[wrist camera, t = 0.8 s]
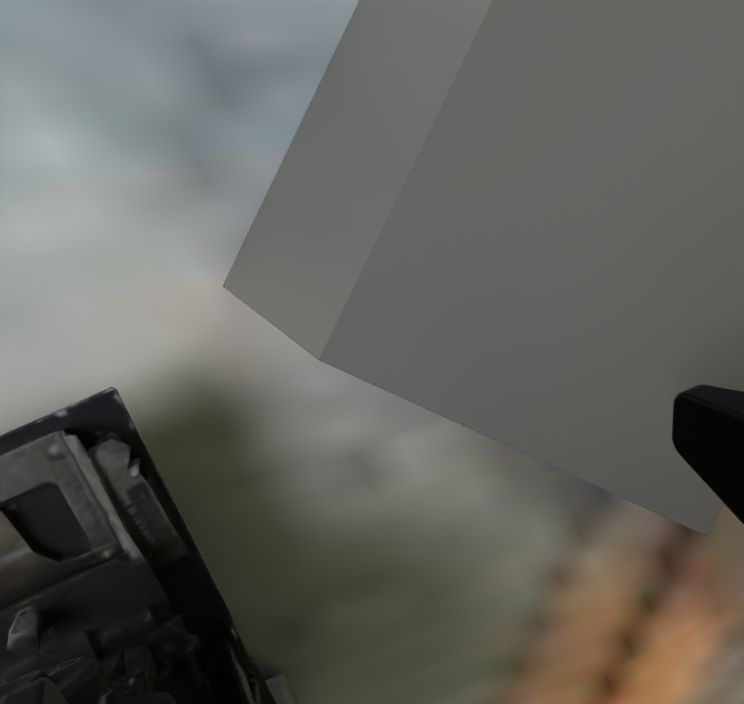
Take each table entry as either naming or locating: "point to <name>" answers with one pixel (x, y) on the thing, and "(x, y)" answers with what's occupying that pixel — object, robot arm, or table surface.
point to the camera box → (524, 225)
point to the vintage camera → (109, 573)
